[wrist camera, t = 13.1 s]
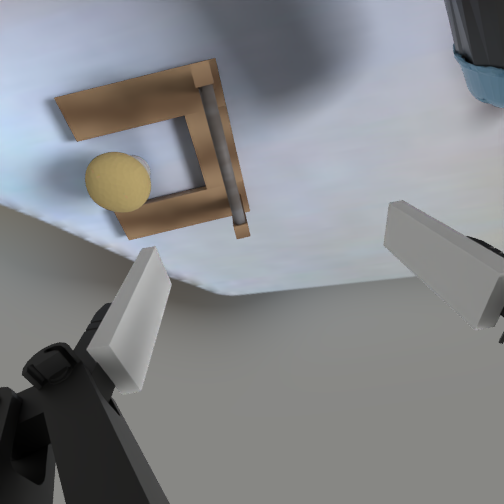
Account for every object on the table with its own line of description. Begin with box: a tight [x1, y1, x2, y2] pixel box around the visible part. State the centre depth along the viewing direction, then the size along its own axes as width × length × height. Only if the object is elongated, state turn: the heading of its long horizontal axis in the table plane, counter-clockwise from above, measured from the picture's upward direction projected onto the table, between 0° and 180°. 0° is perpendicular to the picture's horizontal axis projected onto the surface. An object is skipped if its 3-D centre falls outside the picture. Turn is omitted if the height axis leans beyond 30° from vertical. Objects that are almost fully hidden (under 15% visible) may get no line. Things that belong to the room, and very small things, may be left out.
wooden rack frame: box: [54, 58, 250, 240], centre depth 29 cm, size 18×18×12 cm
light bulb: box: [85, 152, 151, 212], centre depth 30 cm, size 6×6×10 cm
